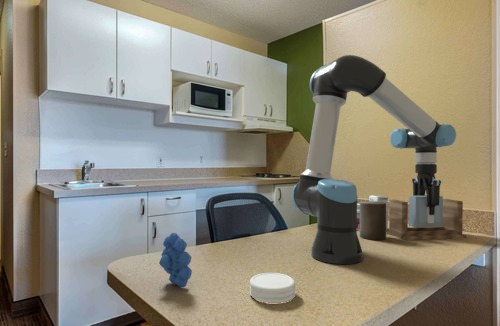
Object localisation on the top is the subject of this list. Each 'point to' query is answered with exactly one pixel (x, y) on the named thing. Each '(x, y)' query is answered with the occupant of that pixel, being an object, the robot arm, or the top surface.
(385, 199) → the syrup box
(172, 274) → the grapes
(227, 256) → the top surface
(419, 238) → the frame
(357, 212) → the pill bottle
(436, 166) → the robot arm
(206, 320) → the top surface
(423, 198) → the door panel
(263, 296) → the white round jar
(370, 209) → the pillar candle
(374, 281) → the top surface
